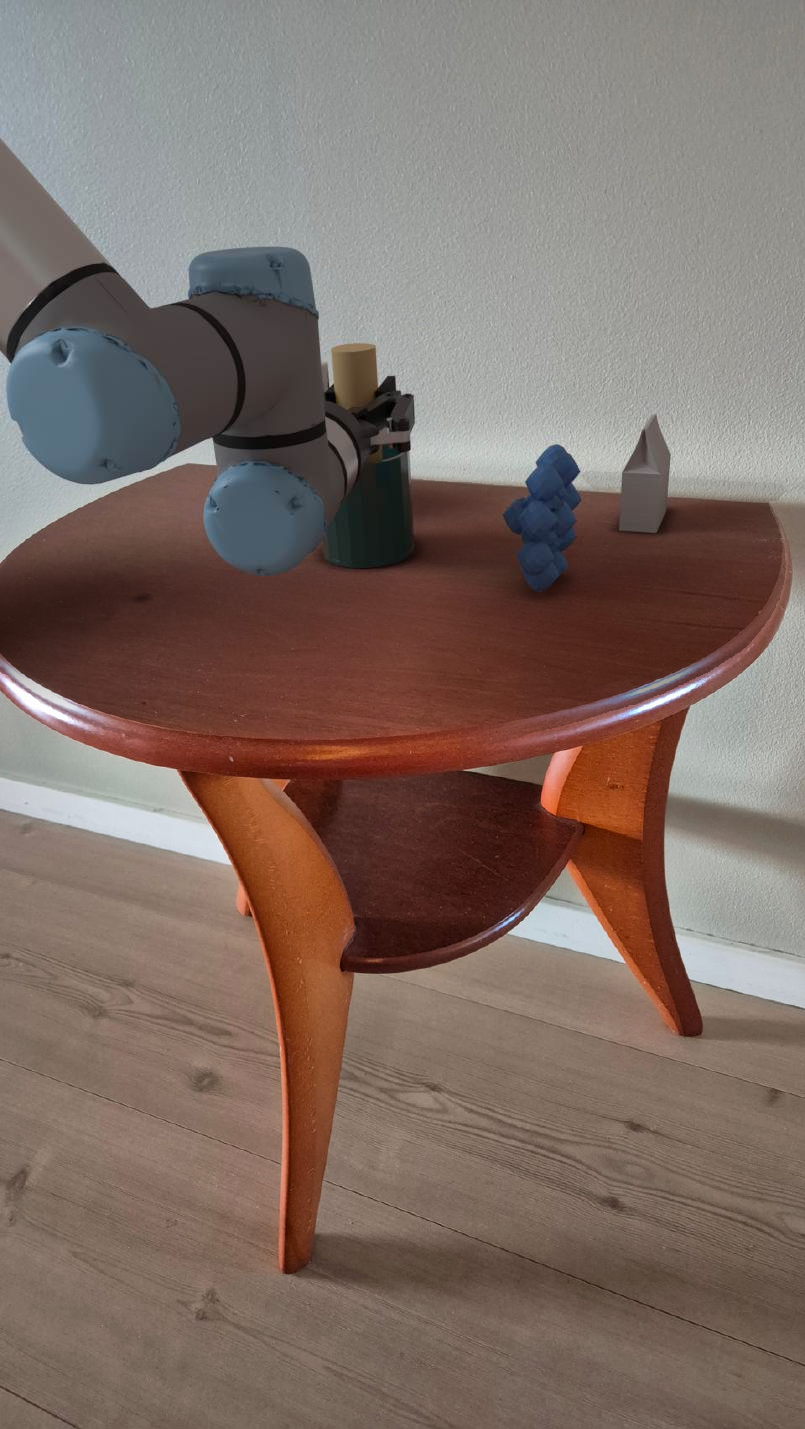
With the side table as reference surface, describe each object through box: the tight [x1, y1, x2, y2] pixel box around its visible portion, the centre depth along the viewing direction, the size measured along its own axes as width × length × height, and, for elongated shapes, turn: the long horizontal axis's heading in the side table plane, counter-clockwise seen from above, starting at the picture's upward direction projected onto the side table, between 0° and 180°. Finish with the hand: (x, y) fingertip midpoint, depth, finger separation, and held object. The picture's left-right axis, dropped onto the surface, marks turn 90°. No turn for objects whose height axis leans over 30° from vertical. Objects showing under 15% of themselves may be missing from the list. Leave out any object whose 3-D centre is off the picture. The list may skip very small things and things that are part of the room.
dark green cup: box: [321, 444, 415, 569], centre depth 96 cm, size 9×9×10 cm
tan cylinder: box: [330, 342, 383, 463], centre depth 91 cm, size 4×4×12 cm
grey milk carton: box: [618, 413, 672, 534], centre depth 99 cm, size 4×7×10 cm, turn 159°
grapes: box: [502, 443, 582, 593], centre depth 86 cm, size 12×7×12 cm, turn 157°
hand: (368, 390), depth 96 cm, fingers closed on tan cylinder, 4 cm apart
